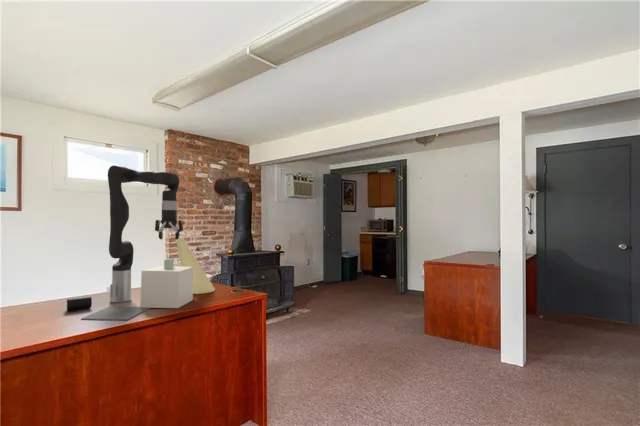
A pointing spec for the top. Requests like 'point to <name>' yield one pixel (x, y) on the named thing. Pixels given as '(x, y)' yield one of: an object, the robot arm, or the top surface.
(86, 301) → the end cap
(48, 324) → the top surface
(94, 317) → the mat
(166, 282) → the cover
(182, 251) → the cone light
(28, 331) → the top surface
